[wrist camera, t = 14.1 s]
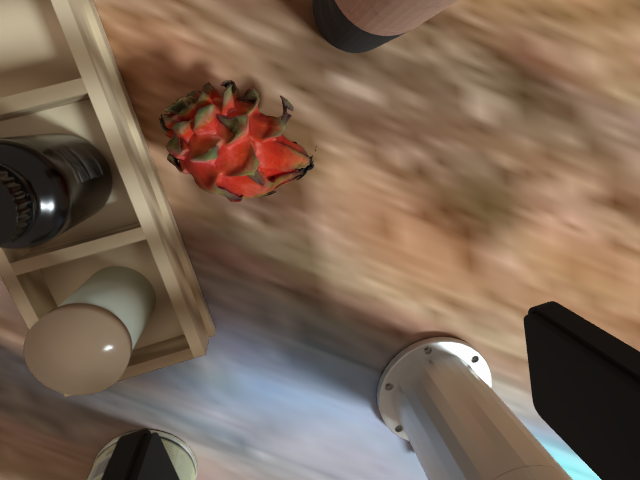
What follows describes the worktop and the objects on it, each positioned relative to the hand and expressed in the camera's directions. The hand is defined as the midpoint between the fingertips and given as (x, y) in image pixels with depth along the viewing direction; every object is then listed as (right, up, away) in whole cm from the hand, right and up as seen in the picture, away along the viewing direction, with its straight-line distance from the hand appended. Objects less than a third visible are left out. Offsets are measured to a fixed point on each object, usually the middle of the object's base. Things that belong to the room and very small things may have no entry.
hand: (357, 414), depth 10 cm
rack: (-21, +10, +24) cm, 33 cm away
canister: (-18, -1, +26) cm, 32 cm away
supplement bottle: (-21, +9, +23) cm, 32 cm away
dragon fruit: (-8, +13, +25) cm, 29 cm away
